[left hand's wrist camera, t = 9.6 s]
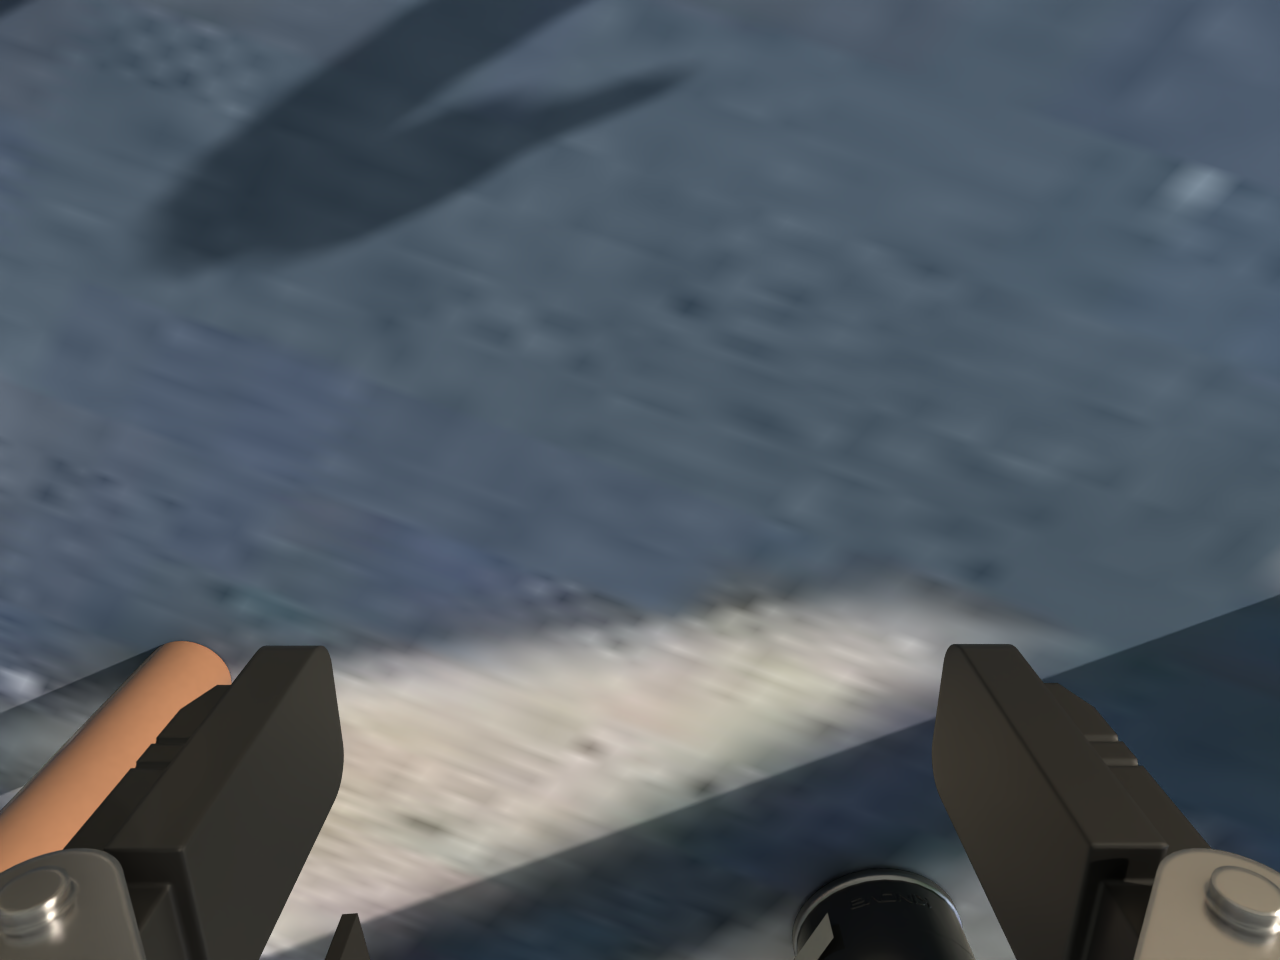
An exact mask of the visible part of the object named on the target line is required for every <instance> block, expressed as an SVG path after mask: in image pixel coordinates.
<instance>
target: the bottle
mask: <svg viewBox="0 0 1280 960" xmlns="http://www.w3.org/2000/svg"><path fill="white" fill-rule="evenodd" d="M216 685H231V676H230V673H229V670H228V668H227V666H226V664H225V663H224V662H223V660H222V659H221V658H220V657H219V656H218V655H217V654H216V653H214V652H213V651H211V650H210V649H208V648H206V647H205V646H202V645H200V644H197V643H193V642H188V641H175V642H170V643H167V644H164V645H162V646H160V647H158V648H157V649H156V650H155V651H153V652H152V654H151V655H150V656H149V657H148V658H147V659H146V660H145V661H144V662H143V663H142V664H141V665H140V666H139V667H138V668H137V669H136V670H135V671H134V672H133V673H132V674H131V675H130V676H129V677H128V678H127V679H126V681H125V682H124V683H123V684H122V685H121V686H120V687H119V688H118V689H117V690H116V691H115V692H114V693H113V694H112V695H111V696H110V697H109V698H108V699H107V700H106V701H105V702H104V703H103V704H102V705H101V706H100V708H99V709H98V710H97V711H96V712H95V713H94V714H93V715H92V716H91V717H90V718H89V719H88V720H87V721H86V722H85V723H84V724H83V725H82V726H81V727H80V728H79V729H78V730H77V731H76V732H75V734H74V735H73V736H72V737H71V738H70V739H69V740H68V741H67V742H66V743H65V744H64V745H63V746H62V747H61V748H60V749H59V750H58V751H57V752H56V753H55V754H54V755H53V756H52V757H51V758H50V759H49V761H48V762H47V763H46V764H45V765H44V766H43V767H42V768H41V769H40V770H39V771H38V772H37V773H36V774H35V775H34V776H33V777H32V778H31V779H30V780H29V781H28V782H27V783H26V784H25V785H24V786H23V788H22V789H21V790H20V791H19V792H18V793H17V794H16V795H15V796H14V797H13V798H12V799H11V800H10V801H9V802H8V803H7V804H6V805H5V806H4V807H3V808H2V809H1V810H0V873H1V872H3V871H5V870H7V869H9V868H10V867H12V866H14V865H17V864H19V863H21V862H24V861H26V860H28V859H31V858H34V857H37V856H40V855H43V854H46V853H50V852H54V851H58V850H63V848H64V847H65V846H66V845H67V844H68V842H69V841H70V840H71V839H72V838H73V836H74V835H75V834H76V833H77V832H78V831H79V829H80V828H81V827H82V826H83V825H84V823H85V822H86V821H87V820H88V819H89V817H90V816H91V815H92V814H93V813H94V811H95V810H96V809H97V808H98V807H99V805H100V804H101V803H102V802H103V801H104V799H105V798H106V797H107V796H108V795H109V794H110V792H111V791H112V790H113V789H114V788H115V786H116V785H117V784H118V783H119V782H120V780H121V779H122V778H123V777H124V776H125V774H126V773H127V772H128V771H129V770H130V768H135V767H136V761H137V760H138V759H139V758H140V757H141V755H142V754H143V753H144V752H145V751H146V749H147V748H148V747H149V746H150V745H151V744H155V743H156V737H157V736H158V735H159V734H160V733H161V731H162V730H163V729H164V728H165V727H166V725H167V724H168V723H169V722H170V721H171V720H172V718H173V717H174V716H175V715H176V714H177V712H178V711H179V710H180V709H181V708H183V707H184V706H186V705H187V704H189V703H190V702H192V701H193V700H195V699H196V698H198V697H199V696H201V695H202V694H204V693H205V692H207V691H208V690H210V689H211V688H213V687H214V686H216Z"/></svg>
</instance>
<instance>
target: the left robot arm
mask: <svg viewBox="0 0 1280 960" xmlns="http://www.w3.org/2000/svg"><path fill="white" fill-rule="evenodd" d="M343 762H344V750H343V740H342V733H341V726H340V719H339V712H338V705H337V698H336V691H335V684H334V677H333V670H332V663H331V658H330V655H329V653H328V651H327V649H326V648H325V647H324V646H263V647H261V648H260V649H259V650H258V651H257V652H256V653H255V655H254V656H253V657H252V658H251V660H250V661H249V662H248V664H247V665H246V666H245V667H244V669H243V670H242V671H241V672H240V674H239V675H238V676H237V678H236V679H235V680H234V681H233V683H232V684H231V685H216V686H214V687H213V688H211V689H210V690H208V691H207V692H205V693H204V694H202V695H201V696H199V697H198V698H196V699H195V700H193V701H192V702H190V703H189V704H187V705H186V706H184V707H183V708H181V709H180V710H179V711H178V712H177V714H176V715H175V716H174V717H173V718H172V720H171V721H170V722H169V723H168V724H167V725H166V727H165V728H164V729H163V730H162V731H161V733H160V734H159V735H158V736H157V737H156V743H155V744H151V745H150V746H149V747H148V748H147V749H146V751H145V752H144V753H143V754H142V755H141V757H140V758H139V759H138V760H137V761H136V767H135V768H130V770H129V771H128V772H127V773H126V774H125V776H124V777H123V778H122V779H121V780H120V782H119V783H118V784H117V785H116V786H115V788H114V789H113V790H112V791H111V792H110V794H109V795H108V796H107V797H106V798H105V799H104V801H103V802H102V803H101V804H100V805H99V807H98V808H97V809H96V810H95V811H94V813H93V814H92V815H91V816H90V817H89V819H88V820H87V821H86V822H85V823H84V825H83V826H82V827H81V828H80V829H79V831H78V832H77V833H76V834H75V835H74V836H73V838H72V839H71V840H70V841H69V842H68V844H67V845H66V846H65V847H64V848H63V850H58V851H54V852H50V853H46V854H43V855H40V856H37V857H34V858H31V859H28V860H26V861H24V862H21V863H19V864H17V865H14V866H12V867H10V868H9V869H7V870H5V871H3V872H1V873H0V960H259V958H260V956H261V954H262V952H263V950H264V948H265V945H266V943H267V941H268V939H269V937H270V935H271V933H272V931H273V929H274V927H275V924H276V922H277V920H278V918H279V916H280V914H281V912H282V910H283V908H284V906H285V904H286V901H287V899H288V897H289V895H290V893H291V891H292V889H293V887H294V885H295V883H296V880H297V878H298V876H299V874H300V872H301V870H302V868H303V866H304V864H305V862H306V859H307V857H308V855H309V853H310V851H311V849H312V847H313V845H314V843H315V841H316V839H317V836H318V834H319V832H320V830H321V828H322V826H323V824H324V822H325V820H326V818H327V815H328V813H329V811H330V809H331V807H332V805H333V803H334V801H335V799H336V796H337V794H338V790H339V787H340V783H341V778H342V772H343ZM932 766H933V774H934V779H935V783H936V787H937V790H938V793H939V796H940V798H941V800H942V802H943V804H944V807H945V809H946V811H947V813H948V815H949V817H950V819H951V821H952V824H953V826H954V828H955V830H956V832H957V834H958V836H959V838H960V840H961V843H962V845H963V847H964V849H965V851H966V853H967V855H968V857H969V860H970V862H971V864H972V866H973V868H974V870H975V872H976V874H977V877H978V879H979V881H980V883H981V885H982V887H983V889H984V891H985V894H986V896H987V898H988V900H989V902H990V904H991V906H992V908H993V911H994V913H995V915H996V917H997V919H998V921H999V923H1000V925H1001V927H1002V930H1003V932H1004V934H1005V936H1006V938H1007V940H1008V942H1009V944H1010V947H1011V949H1012V951H1013V953H1014V955H1015V957H1016V959H1017V960H1280V873H1279V872H1277V871H1275V870H1273V869H1271V868H1270V867H1268V866H1266V865H1263V864H1261V863H1259V862H1256V861H1254V860H1252V859H1249V858H1246V857H1243V856H1240V855H1237V854H1234V853H1230V852H1226V851H1222V850H1215V849H1211V847H1210V846H1209V845H1208V844H1207V843H1206V841H1205V840H1204V839H1203V838H1202V837H1201V835H1200V834H1199V833H1198V832H1197V831H1196V829H1195V828H1194V827H1193V826H1192V825H1191V823H1190V822H1189V821H1188V820H1187V819H1186V817H1185V816H1184V815H1183V814H1182V813H1181V811H1180V810H1179V809H1178V808H1177V806H1176V805H1175V804H1174V803H1173V802H1172V800H1171V799H1170V798H1169V797H1168V796H1167V794H1166V793H1165V792H1164V791H1163V790H1162V788H1161V787H1160V786H1159V785H1158V784H1157V782H1156V781H1155V780H1154V779H1153V778H1152V776H1151V775H1150V774H1149V773H1148V772H1147V770H1146V769H1145V768H1144V767H1143V766H1138V762H1137V758H1136V757H1135V756H1134V755H1133V753H1132V752H1131V751H1130V750H1129V749H1128V747H1127V746H1126V745H1125V744H1124V743H1123V742H1119V741H1118V735H1117V734H1116V733H1115V732H1114V731H1113V729H1112V728H1111V727H1110V726H1109V725H1108V723H1107V722H1106V721H1105V720H1104V719H1103V717H1102V716H1101V715H1100V714H1099V713H1098V711H1097V710H1096V709H1095V708H1094V707H1093V706H1091V705H1090V704H1088V703H1087V702H1085V701H1084V700H1082V699H1081V698H1079V697H1078V696H1076V695H1075V694H1073V693H1072V692H1070V691H1069V690H1067V689H1066V688H1064V687H1063V686H1061V685H1060V684H1058V683H1043V682H1042V680H1041V679H1040V678H1039V677H1038V675H1037V674H1036V673H1035V671H1034V670H1033V669H1032V667H1031V666H1030V665H1029V664H1028V662H1027V661H1026V660H1025V658H1024V657H1023V656H1022V655H1021V653H1020V652H1019V651H1018V649H1017V648H1016V647H1014V646H1013V645H1010V644H953V645H951V646H950V647H949V648H948V649H947V652H946V654H945V658H944V663H943V671H942V678H941V685H940V692H939V699H938V707H937V714H936V721H935V728H934V735H933V743H932ZM792 938H793V947H794V952H795V959H794V960H975V958H974V955H973V953H972V951H971V948H970V946H969V944H968V941H967V939H966V936H965V934H964V932H963V928H962V923H961V920H960V917H959V914H958V912H957V910H956V907H955V905H954V903H953V901H952V900H951V898H950V897H949V896H948V894H947V893H946V892H945V891H944V890H943V889H942V888H941V887H940V886H938V885H937V884H935V883H934V882H932V881H931V880H929V879H927V878H925V877H923V876H920V875H918V874H915V873H911V872H908V871H903V870H896V869H872V870H864V871H860V872H855V873H852V874H849V875H846V876H843V877H840V878H838V879H836V880H834V881H832V882H830V883H829V884H827V885H825V886H824V887H822V888H821V889H819V890H818V891H817V892H816V893H815V894H813V895H812V896H811V897H810V898H809V899H808V901H807V902H806V903H805V904H804V906H803V907H802V908H801V910H800V912H799V914H798V916H797V918H796V920H795V923H794V927H793V934H792Z"/></svg>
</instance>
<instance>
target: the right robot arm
mask: <svg viewBox="0 0 1280 960" xmlns="http://www.w3.org/2000/svg"><path fill="white" fill-rule="evenodd" d="M325 960H370V957H369V953H368V950H367V946H366V942H365V939H364V935H363V932H362V928H361V924H360V921H359V917H358V913H355V914H342V916H341V919H340V922H339V924H338V927H337V929H336V932H335V935H334V937H333V940H332V942H331V945H330V948H329V950H328V953H327V955H326V958H325Z"/></svg>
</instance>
